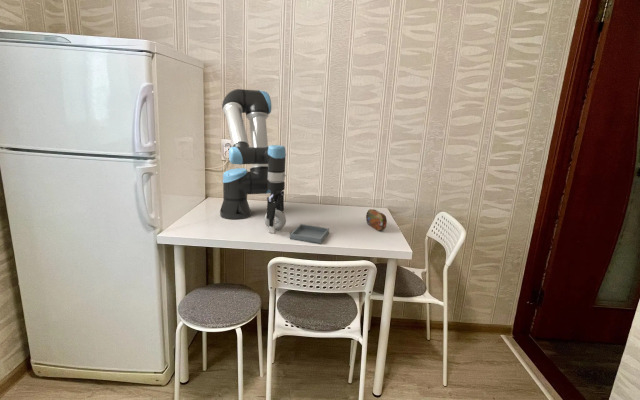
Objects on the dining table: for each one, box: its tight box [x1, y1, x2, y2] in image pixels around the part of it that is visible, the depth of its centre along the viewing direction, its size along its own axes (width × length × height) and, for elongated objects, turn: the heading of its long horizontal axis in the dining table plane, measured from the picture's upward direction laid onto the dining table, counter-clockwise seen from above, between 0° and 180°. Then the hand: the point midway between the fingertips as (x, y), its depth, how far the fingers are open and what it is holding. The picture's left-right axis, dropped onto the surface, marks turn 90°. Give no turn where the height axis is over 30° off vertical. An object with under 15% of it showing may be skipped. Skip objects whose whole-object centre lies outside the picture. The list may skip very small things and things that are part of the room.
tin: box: [365, 208, 388, 232], centre depth 166 cm, size 15×3×8 cm, turn 23°
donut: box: [264, 210, 287, 231], centre depth 155 cm, size 10×4×10 cm, turn 86°
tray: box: [289, 223, 330, 245], centre depth 151 cm, size 14×14×2 cm
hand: (275, 229), depth 156 cm, fingers open, 7 cm apart
